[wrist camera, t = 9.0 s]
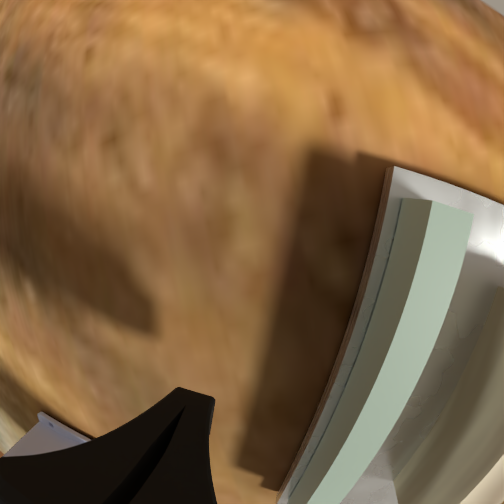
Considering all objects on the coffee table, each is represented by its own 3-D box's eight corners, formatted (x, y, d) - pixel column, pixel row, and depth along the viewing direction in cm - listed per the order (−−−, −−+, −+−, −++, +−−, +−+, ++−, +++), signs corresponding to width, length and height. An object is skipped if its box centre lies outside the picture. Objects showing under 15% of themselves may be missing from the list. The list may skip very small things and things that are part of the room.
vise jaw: (287, 501, 13) (284, 533, 11) (403, 197, 9) (432, 200, 7) (312, 504, 13) (310, 536, 11) (438, 208, 9) (474, 214, 7)
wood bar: (393, 481, 12) (406, 547, 7) (497, 285, 10) (572, 332, 5) (445, 476, 12) (465, 534, 7) (546, 298, 9) (610, 337, 4)
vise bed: (276, 494, 15) (270, 538, 11) (386, 167, 10) (423, 159, 7) (445, 494, 13) (456, 527, 10) (575, 243, 9) (616, 257, 6)
